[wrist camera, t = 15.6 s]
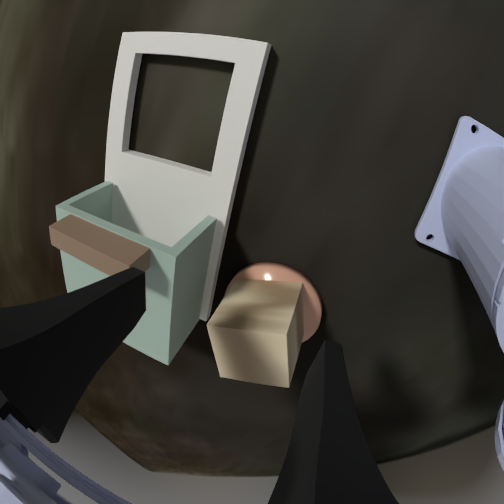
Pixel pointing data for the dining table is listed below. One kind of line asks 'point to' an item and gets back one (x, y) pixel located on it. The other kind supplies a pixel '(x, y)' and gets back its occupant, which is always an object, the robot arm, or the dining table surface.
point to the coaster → (289, 274)
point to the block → (258, 331)
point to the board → (172, 173)
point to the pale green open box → (141, 257)
